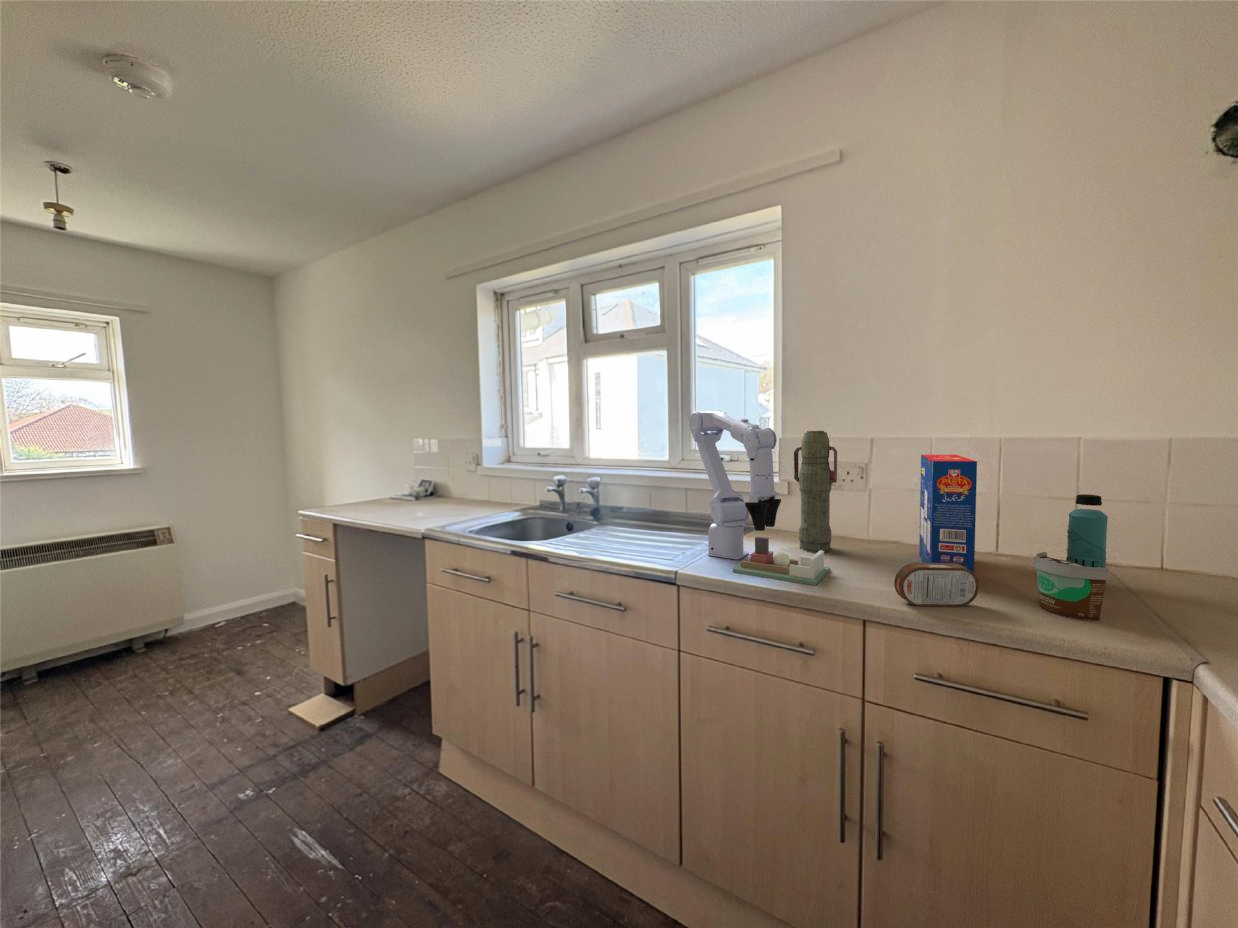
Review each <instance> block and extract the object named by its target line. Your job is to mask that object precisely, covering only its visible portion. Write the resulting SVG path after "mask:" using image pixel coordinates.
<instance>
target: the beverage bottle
mask: <svg viewBox="0 0 1238 928" xmlns="http://www.w3.org/2000/svg"><path fill="white" fill-rule="evenodd" d="M1075 498H1076V499H1075V504H1076V505H1081V506H1094V507H1095V506H1097V507H1099V506H1100V507H1101V506H1102V505H1103V502H1102V496H1101V495H1097V494H1085V493H1083V494H1082V493H1081V494H1077V495H1076V497H1075ZM1108 519H1109V516H1108V515H1107V514H1105V513H1104V512H1103V511H1102V510H1098V509H1093V508H1092V509H1091V508H1076V509H1075V508H1074V509H1073V510H1072V511H1070V512H1069V513H1068V524H1067V527H1068V529H1067V530H1066V531H1067V532H1066V533H1067V536H1066V538H1067V548H1066V550H1065V551H1066V557H1065V558H1066V559H1065V561H1072V562H1076V563H1079V564H1081V565H1083V566H1086V567H1097V568H1107V566H1106V565H1107V538H1108V537H1107V533H1108Z"/></svg>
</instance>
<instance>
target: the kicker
mask: <svg viewBox="0 0 1238 928" xmlns="http://www.w3.org/2000/svg"><path fill="white" fill-rule="evenodd" d="M769 543H770V542H769V537H765V536H756V537H754V552H751V553H750V555H749V556H750V557H749V559H750V561H751V562H758V563H764V564H773V557H774V551H770V549H769V545H770V544H769Z"/></svg>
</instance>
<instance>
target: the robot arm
mask: <svg viewBox="0 0 1238 928" xmlns="http://www.w3.org/2000/svg"><path fill="white" fill-rule="evenodd" d="M689 417H690V418H689V424H688V427H689V430H690V433H691V436H692V438H693V441H694V442H695V443H696V446H697V449H698V452H699V455H700V458H701V461H702V462H703V466H704V468H705V469H704V470H705V472H706V474H707V476H708V477H707V478H708V480H709V482H710V485H711V488H712V490H713V493H714V495H713V496H712V498H711V499H710V501H709V508H710V517H711V519H712V521H713V522H714V523H711V524H710V525H709V528H708V534H707V535H708V538H707V540H708V542H707V543H708V544H707V545H708V552H707V556H710V557H711V556H712V557H716V558H723V559H724V558H725V559H733V560H740V559H742V558H744V557H745V556H747V555H749V552H748V551H745V550H744V526H745V525H746V522H747V521H748V520H749V518H751V521H752V524H753V527H754V530H755V531H756V532H757V531H760V532H761V531H762V532H763V531H765V529H766V527H769V528H774V527H775V525H776V520H777V514H778V513H777V512H778V509H779V507H780V505H781V502H782V499H781V498H777V496H779V495H780V492H779V491H777V490H775V477H774V476H775V475H774V461H773V450H774V449H775V447H776V444H777V434H776V432H775V431H774V430H773V429H772V428H770V427H767V428H766V427H765V428H761V427H760V425H759V424H755V423H754V424H753V423H751V422H749V419H747V418H741V419H737V420H736V419H734V418H733V417H732V416H729V415H728V414H727V413H726V411H723V410H716V411H715V410H714V411H713V410H707V411H706V410H704V411H703V410H694V411H692V412H691V414H690V416H689ZM724 431H727V432H729V433H730V436H731V438H732V439H734V440H736V441H737V442H739V443H741V444H743V447H744V449H745V452H746V456H747V458H748V459H749V473H750V492H751V493H749V494H748V501H745V499H744V496H743V494H741V493H739V492H738V491H736V490H735V489H734V488H733V486H732V484H731V482H730V478H729V477H728V473H727V471H726V468H725V466H724V464H723V461H722V458H721V455H720V453H719V450H718V448H717V445H716V444H717V442H719V441H721V439H722V436H723V433H724Z"/></svg>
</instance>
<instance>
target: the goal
mask: <svg viewBox="0 0 1238 928" xmlns="http://www.w3.org/2000/svg"><path fill="white" fill-rule="evenodd" d="M799 563H800V566H799V565H792V564H790V565H789V575H791V576H797V577H804V578H810V579H814V578H815V577H816V576H817V575H818V574H819V573H820V572H821V571H822V570H823V569H824V567H825V552H824V551H821V550H820V551H819V552H815V554H814V555H812V556H805V555H800V562H799Z"/></svg>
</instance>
